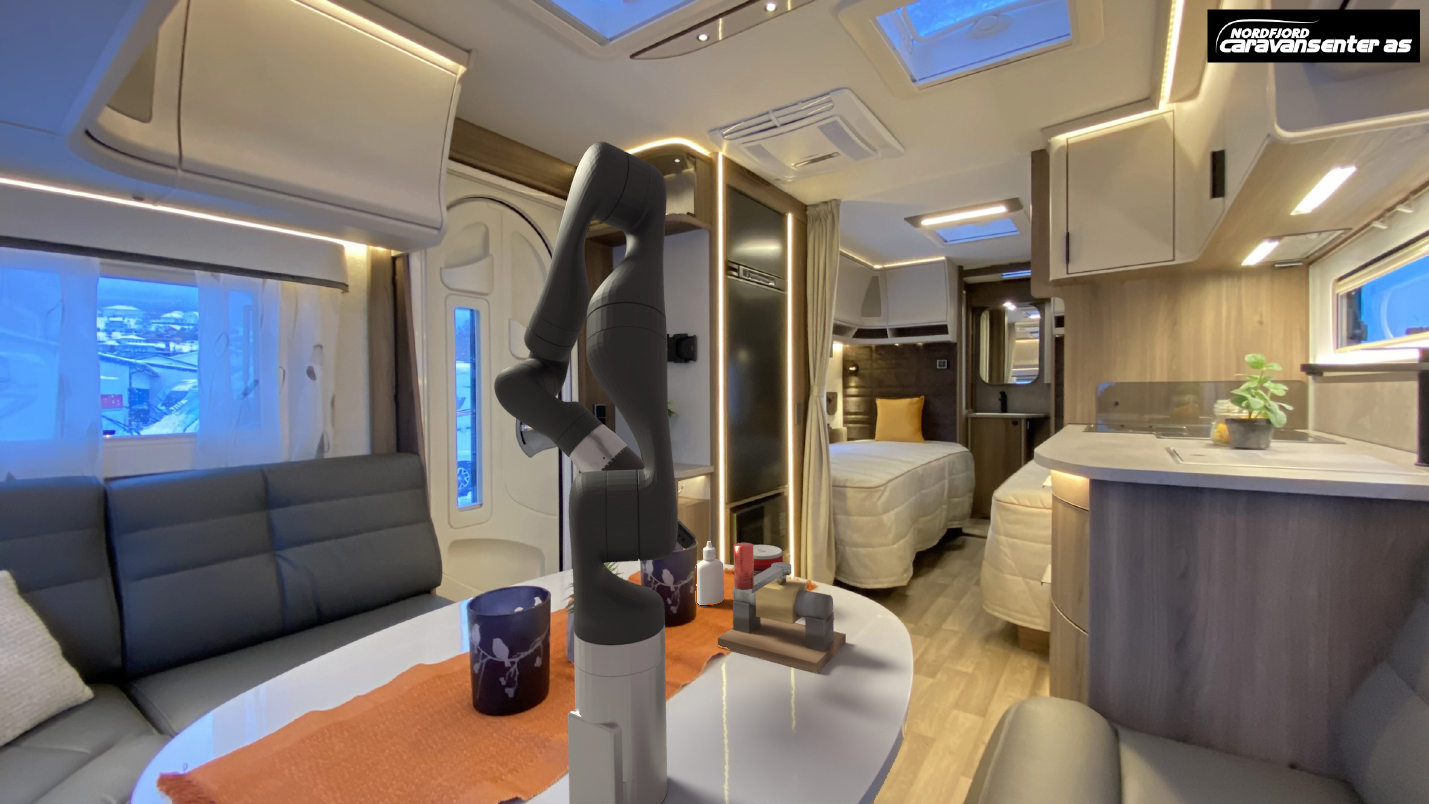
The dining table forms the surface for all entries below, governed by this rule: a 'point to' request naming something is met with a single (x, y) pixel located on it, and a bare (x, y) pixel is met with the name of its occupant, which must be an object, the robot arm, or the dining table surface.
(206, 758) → the dining table surface
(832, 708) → the dining table surface
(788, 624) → the valve stand
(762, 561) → the canned food
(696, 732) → the dining table surface
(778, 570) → the valve lever
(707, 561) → the eye dropper bottle
